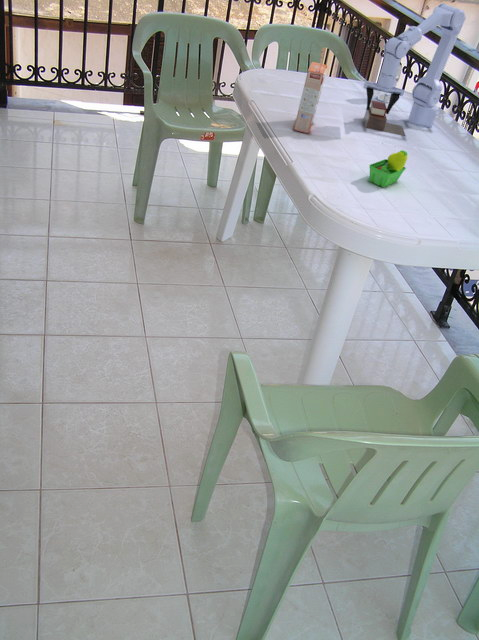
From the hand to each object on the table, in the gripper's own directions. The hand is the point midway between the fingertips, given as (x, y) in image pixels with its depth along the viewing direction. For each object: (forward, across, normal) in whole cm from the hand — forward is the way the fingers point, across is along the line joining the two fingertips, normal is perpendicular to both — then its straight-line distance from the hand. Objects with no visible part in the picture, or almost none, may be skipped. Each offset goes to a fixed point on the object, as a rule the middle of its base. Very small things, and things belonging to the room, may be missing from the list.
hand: (377, 111), depth 252 cm
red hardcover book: (+1, 0, 0) cm, 1 cm away
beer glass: (+7, +9, +44) cm, 45 cm away
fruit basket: (+7, 0, -53) cm, 53 cm away
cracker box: (+7, -26, -15) cm, 31 cm away
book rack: (+7, +4, 0) cm, 8 cm away
